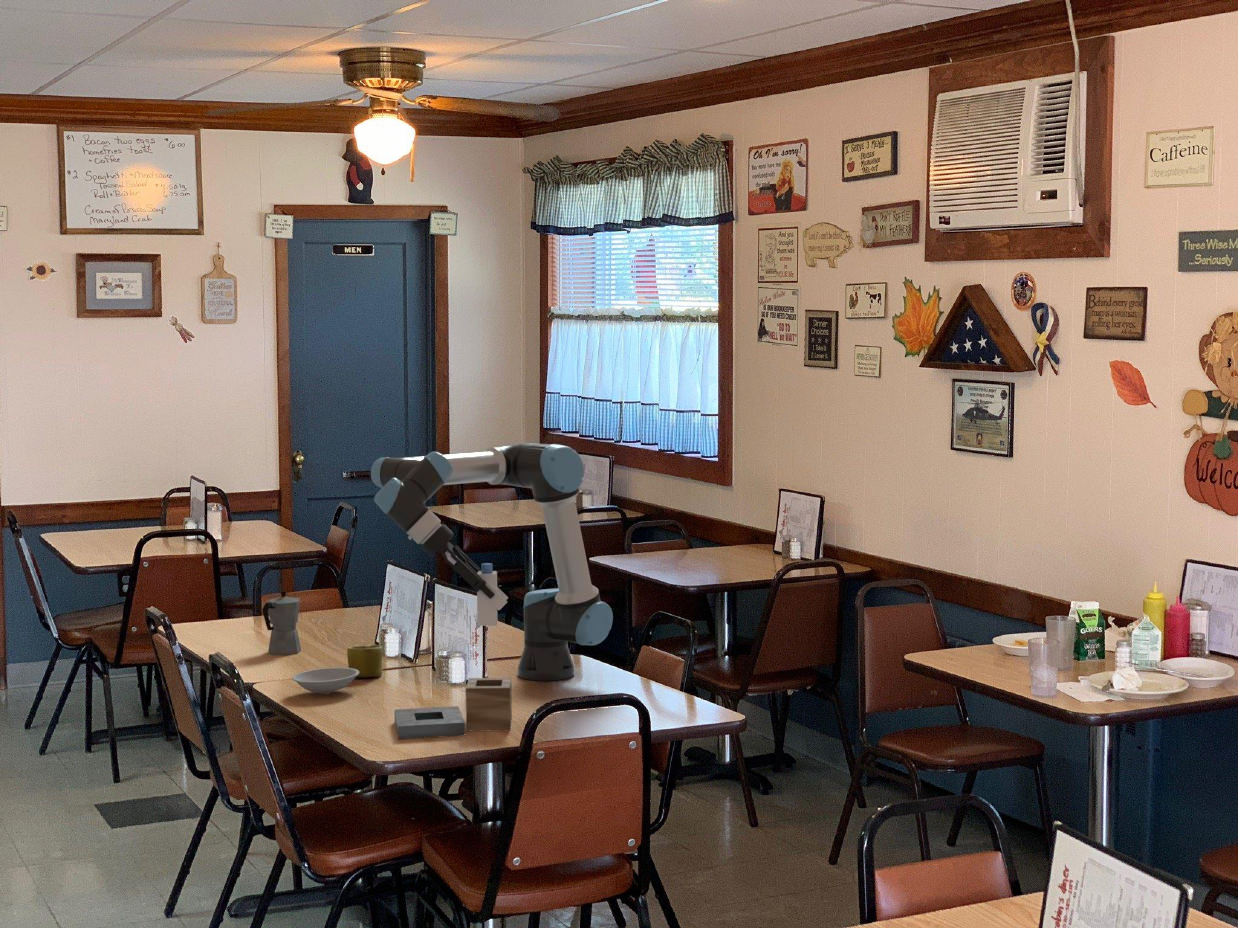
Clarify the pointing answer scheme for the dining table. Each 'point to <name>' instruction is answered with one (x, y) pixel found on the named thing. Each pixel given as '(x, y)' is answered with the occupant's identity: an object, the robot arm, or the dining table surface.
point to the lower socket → (429, 722)
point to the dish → (325, 679)
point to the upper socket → (488, 704)
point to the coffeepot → (282, 624)
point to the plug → (484, 606)
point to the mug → (366, 660)
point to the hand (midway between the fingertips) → (503, 603)
